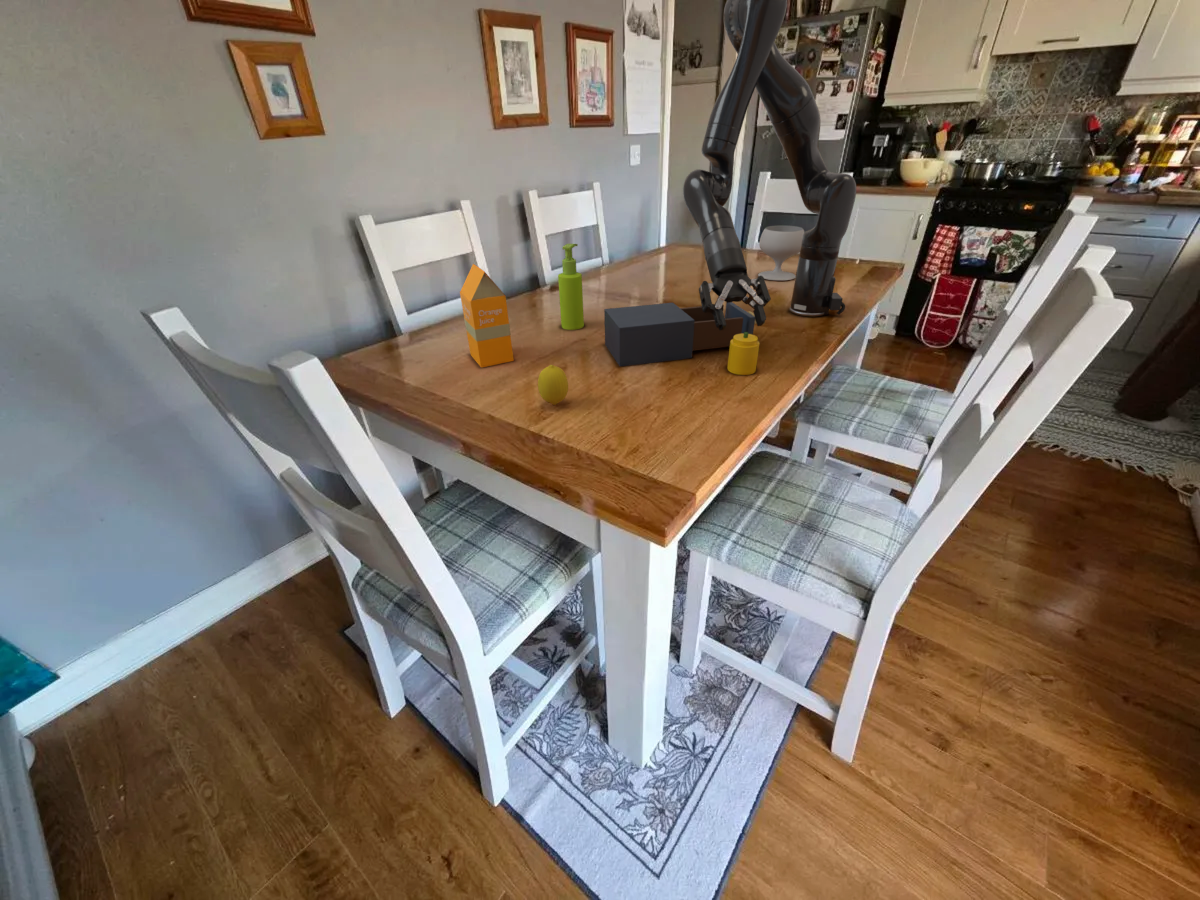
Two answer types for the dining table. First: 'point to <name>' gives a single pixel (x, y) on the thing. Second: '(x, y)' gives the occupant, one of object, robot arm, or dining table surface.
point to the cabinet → (648, 333)
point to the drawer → (711, 335)
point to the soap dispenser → (570, 292)
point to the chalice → (780, 248)
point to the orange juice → (486, 319)
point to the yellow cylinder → (743, 354)
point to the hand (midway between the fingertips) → (742, 326)
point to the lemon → (553, 384)
